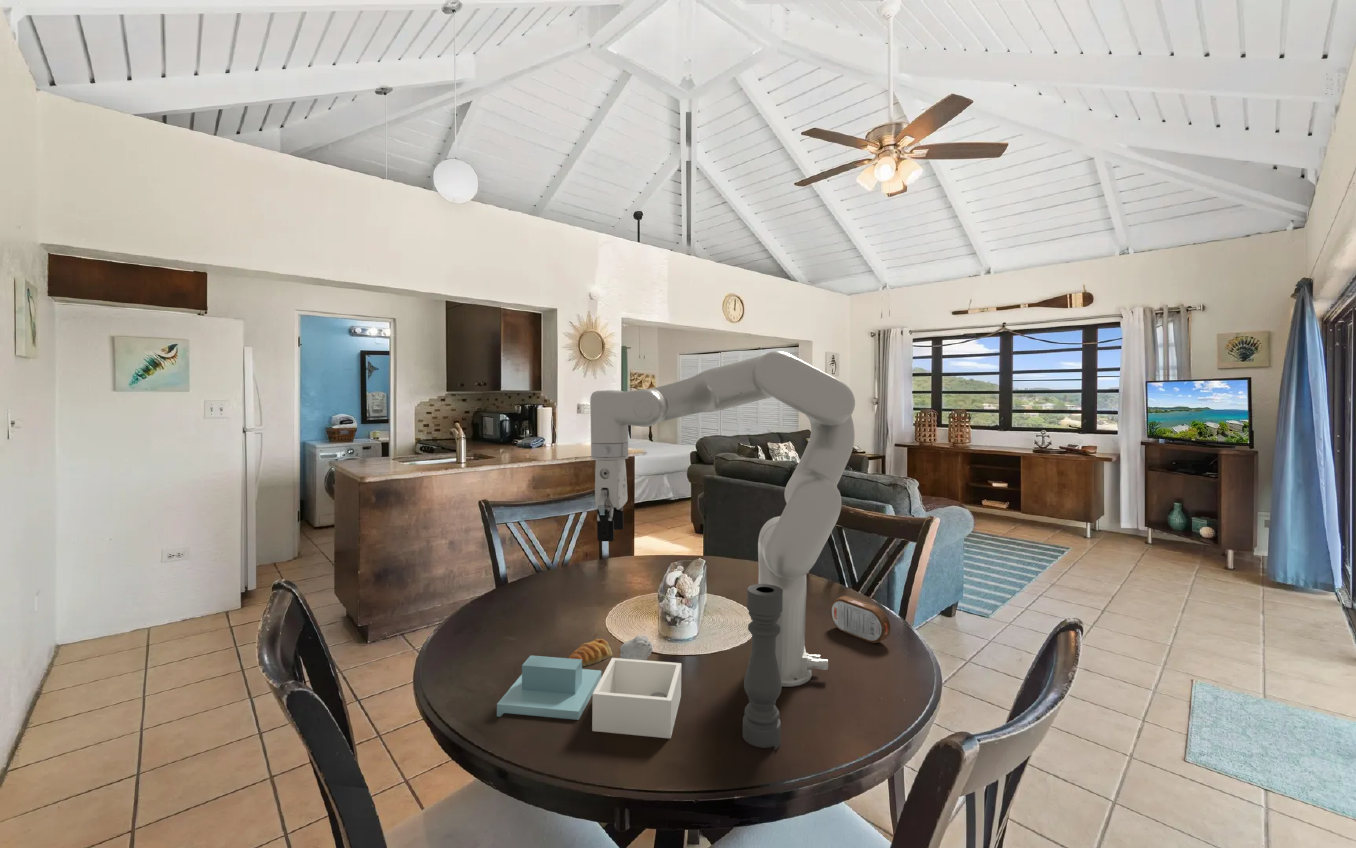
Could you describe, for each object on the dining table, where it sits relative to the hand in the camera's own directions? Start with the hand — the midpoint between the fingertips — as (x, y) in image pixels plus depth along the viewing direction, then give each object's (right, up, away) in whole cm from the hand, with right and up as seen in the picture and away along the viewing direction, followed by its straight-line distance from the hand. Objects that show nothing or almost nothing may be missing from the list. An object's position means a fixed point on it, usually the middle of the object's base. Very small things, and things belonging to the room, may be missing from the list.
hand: (611, 534), depth 117 cm
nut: (+10, -28, -16) cm, 33 cm away
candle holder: (+27, -29, -24) cm, 46 cm away
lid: (-9, -28, -12) cm, 32 cm away
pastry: (-5, -28, +3) cm, 28 cm away
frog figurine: (+5, -28, -1) cm, 28 cm away
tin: (+56, -28, +18) cm, 65 cm away
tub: (+7, -28, -17) cm, 34 cm away
